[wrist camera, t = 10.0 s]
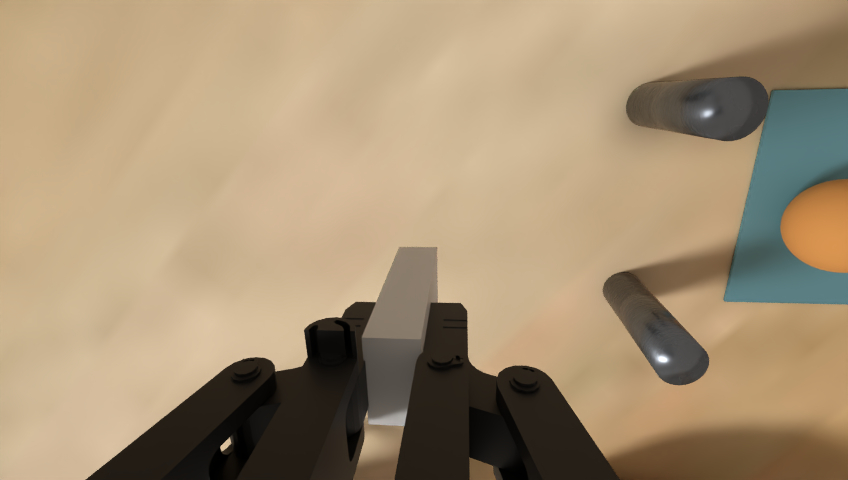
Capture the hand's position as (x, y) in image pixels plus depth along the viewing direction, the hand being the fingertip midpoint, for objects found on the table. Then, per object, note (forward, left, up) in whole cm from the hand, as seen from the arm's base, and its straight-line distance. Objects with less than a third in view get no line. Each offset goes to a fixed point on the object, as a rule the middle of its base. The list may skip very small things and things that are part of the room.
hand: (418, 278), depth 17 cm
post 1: (+13, +6, -13) cm, 20 cm away
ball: (+24, -1, -11) cm, 26 cm away
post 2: (+13, -6, -13) cm, 20 cm away
